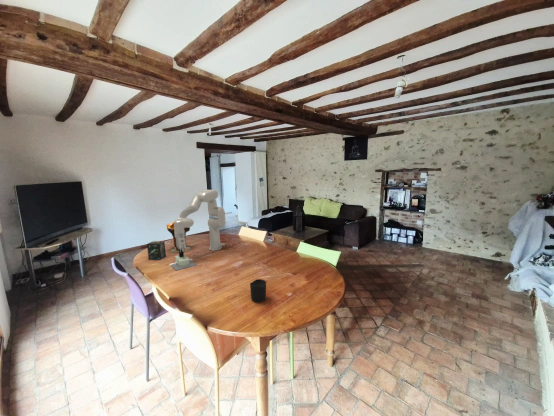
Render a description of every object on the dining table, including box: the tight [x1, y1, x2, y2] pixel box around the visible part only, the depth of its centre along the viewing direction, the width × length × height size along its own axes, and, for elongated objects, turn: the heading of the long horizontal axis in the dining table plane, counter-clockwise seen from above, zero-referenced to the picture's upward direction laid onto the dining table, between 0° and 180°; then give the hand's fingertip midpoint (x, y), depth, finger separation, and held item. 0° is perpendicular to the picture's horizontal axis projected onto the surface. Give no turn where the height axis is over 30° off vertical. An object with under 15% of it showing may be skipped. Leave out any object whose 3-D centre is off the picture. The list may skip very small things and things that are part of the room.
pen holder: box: [249, 278, 267, 303], centre depth 133 cm, size 9×9×10 cm
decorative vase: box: [166, 221, 191, 253], centre depth 222 cm, size 21×23×28 cm
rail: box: [169, 258, 193, 268], centre depth 189 cm, size 18×2×2 cm, turn 130°
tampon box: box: [146, 240, 167, 261], centre depth 201 cm, size 11×9×15 cm
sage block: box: [174, 254, 190, 267], centre depth 185 cm, size 7×5×12 cm
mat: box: [171, 260, 197, 272], centre depth 184 cm, size 16×12×1 cm
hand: (181, 256), depth 186 cm, fingers closed
